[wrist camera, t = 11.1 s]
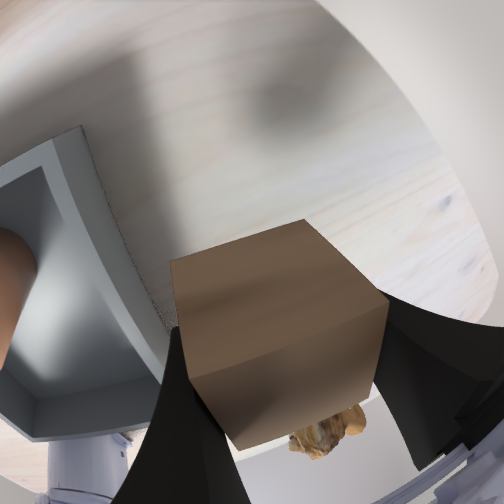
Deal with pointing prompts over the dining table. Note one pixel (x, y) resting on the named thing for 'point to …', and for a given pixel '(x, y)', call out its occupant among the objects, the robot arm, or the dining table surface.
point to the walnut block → (277, 331)
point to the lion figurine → (327, 432)
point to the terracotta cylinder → (13, 284)
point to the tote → (76, 305)
